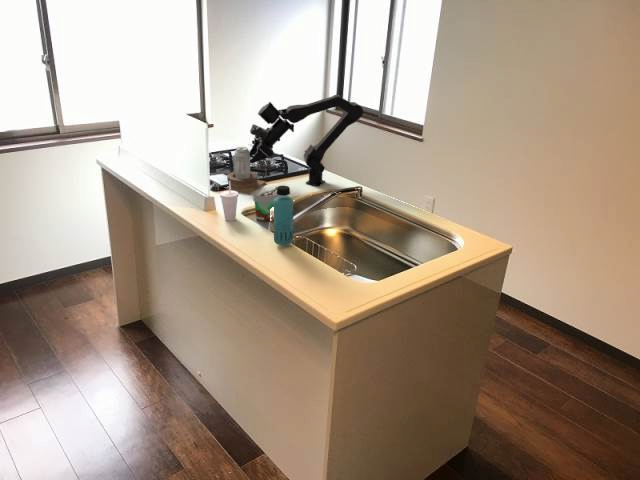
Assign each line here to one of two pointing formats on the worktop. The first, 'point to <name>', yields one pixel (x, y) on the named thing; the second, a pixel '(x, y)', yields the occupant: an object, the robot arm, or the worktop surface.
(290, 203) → the beverage bottle
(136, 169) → the worktop surface
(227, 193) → the smoothie
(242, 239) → the worktop surface
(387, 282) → the worktop surface
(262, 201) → the food container
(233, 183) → the brown round bowl
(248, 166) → the energy drink can
